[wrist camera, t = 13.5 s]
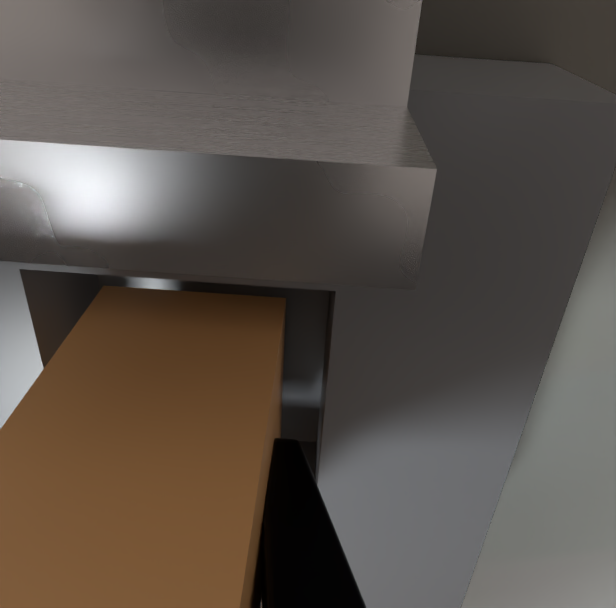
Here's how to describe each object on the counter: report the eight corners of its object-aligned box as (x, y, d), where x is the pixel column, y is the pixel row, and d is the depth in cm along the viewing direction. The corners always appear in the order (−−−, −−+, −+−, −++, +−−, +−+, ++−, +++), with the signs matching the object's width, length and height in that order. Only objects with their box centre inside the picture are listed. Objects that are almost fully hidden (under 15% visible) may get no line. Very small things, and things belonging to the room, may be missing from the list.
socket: (433, 512, 15) (453, 627, 12) (18, 482, 15) (-48, 590, 12) (551, 63, 9) (636, 105, 6) (-128, 18, 9) (-309, 41, 7)
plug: (279, 468, 11) (204, 1136, 5) (130, 457, 11) (-138, 1106, 5) (285, 297, 9) (170, 1074, 3) (103, 285, 9) (-429, 1026, 3)
